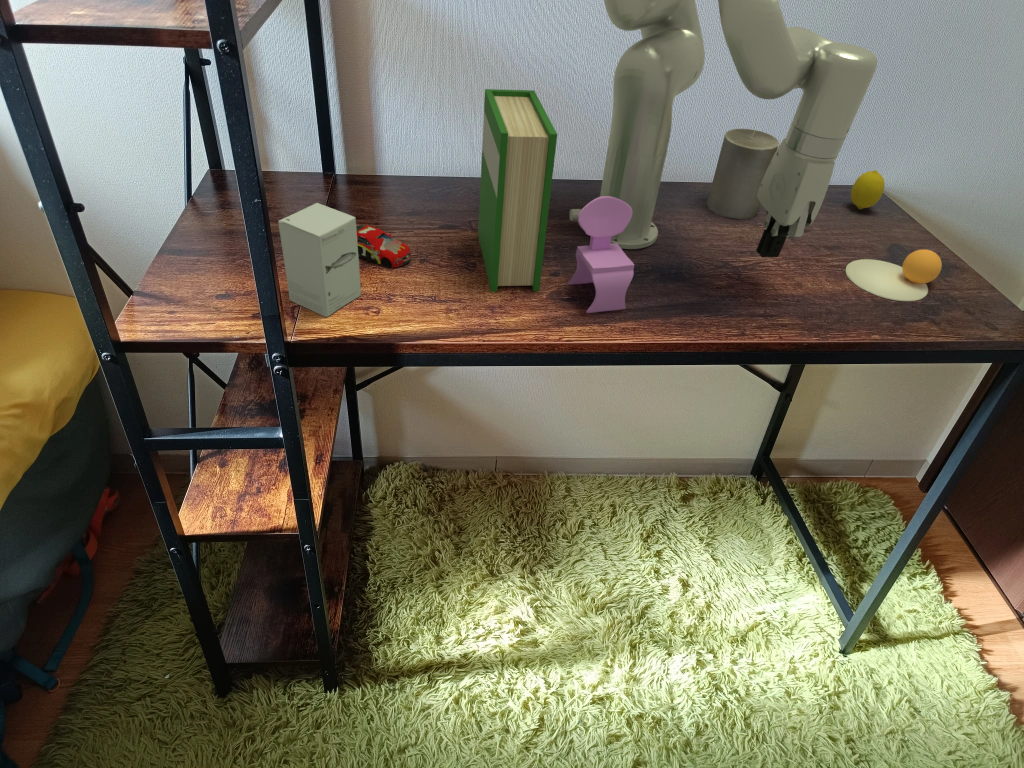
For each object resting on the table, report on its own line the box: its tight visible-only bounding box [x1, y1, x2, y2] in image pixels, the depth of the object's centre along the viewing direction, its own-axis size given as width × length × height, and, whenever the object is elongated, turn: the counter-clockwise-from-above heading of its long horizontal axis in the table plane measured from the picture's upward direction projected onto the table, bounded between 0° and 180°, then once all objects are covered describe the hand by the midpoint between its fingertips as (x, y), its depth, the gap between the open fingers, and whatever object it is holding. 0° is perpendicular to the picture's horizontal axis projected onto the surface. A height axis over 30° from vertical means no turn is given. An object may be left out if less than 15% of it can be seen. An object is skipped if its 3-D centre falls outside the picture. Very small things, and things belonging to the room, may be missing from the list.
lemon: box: [850, 169, 886, 211], centre depth 135 cm, size 6×6×8 cm
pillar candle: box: [706, 128, 780, 220], centre depth 129 cm, size 10×10×15 cm
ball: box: [901, 249, 943, 284], centre depth 115 cm, size 6×6×6 cm
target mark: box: [845, 258, 929, 302], centre depth 116 cm, size 13×13×1 cm
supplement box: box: [277, 202, 362, 318], centre depth 96 cm, size 7×7×13 cm
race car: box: [356, 223, 412, 269], centre depth 110 cm, size 13×5×4 cm, turn 61°
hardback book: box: [477, 88, 558, 293], centre depth 104 cm, size 18×7×24 cm, turn 9°
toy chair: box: [567, 196, 635, 314], centre depth 101 cm, size 8×9×15 cm
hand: (766, 254), depth 109 cm, fingers closed
